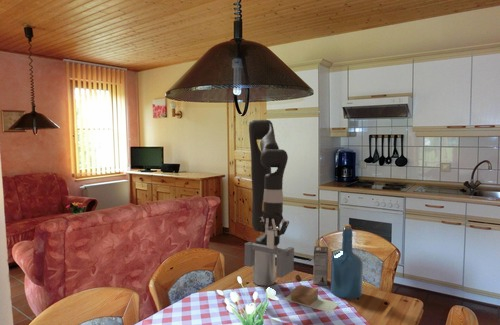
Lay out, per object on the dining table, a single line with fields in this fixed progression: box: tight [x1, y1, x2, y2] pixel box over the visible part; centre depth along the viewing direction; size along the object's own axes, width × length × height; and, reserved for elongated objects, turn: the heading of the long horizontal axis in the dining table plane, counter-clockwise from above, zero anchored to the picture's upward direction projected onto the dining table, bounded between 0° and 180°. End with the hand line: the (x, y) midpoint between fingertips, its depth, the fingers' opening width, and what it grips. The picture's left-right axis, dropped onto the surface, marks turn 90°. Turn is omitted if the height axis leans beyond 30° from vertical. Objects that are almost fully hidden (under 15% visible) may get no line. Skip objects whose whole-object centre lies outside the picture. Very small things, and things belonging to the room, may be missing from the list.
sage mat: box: [283, 293, 340, 314], centre depth 143 cm, size 20×10×1 cm, turn 56°
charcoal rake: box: [243, 229, 295, 279], centre depth 141 cm, size 19×10×16 cm, turn 56°
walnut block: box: [290, 284, 319, 306], centre depth 144 cm, size 8×8×4 cm
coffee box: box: [312, 245, 329, 286], centre depth 165 cm, size 9×6×16 cm
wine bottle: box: [330, 224, 364, 300], centre depth 152 cm, size 14×13×30 cm
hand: (272, 244), depth 140 cm, fingers closed on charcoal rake, 3 cm apart
